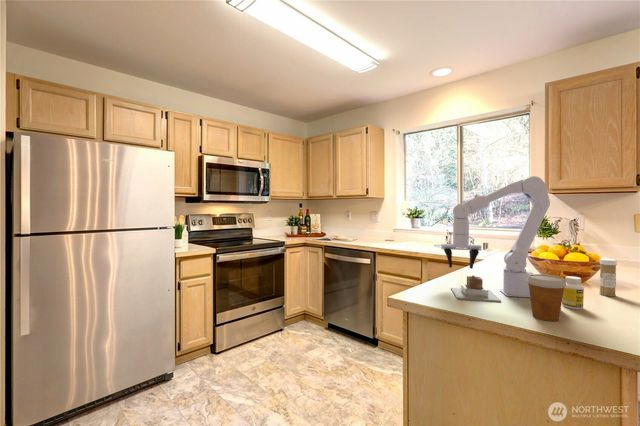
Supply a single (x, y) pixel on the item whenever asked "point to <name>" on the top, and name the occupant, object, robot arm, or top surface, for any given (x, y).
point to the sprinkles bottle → (607, 277)
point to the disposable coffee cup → (546, 296)
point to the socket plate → (461, 296)
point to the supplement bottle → (573, 293)
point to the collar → (474, 291)
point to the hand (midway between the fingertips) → (460, 267)
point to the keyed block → (474, 282)
